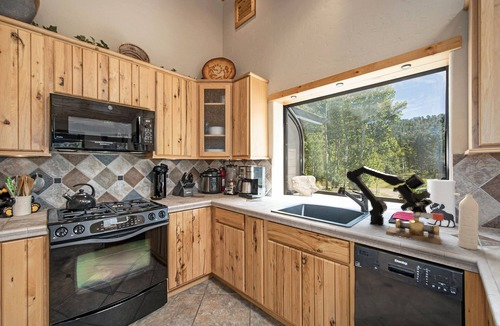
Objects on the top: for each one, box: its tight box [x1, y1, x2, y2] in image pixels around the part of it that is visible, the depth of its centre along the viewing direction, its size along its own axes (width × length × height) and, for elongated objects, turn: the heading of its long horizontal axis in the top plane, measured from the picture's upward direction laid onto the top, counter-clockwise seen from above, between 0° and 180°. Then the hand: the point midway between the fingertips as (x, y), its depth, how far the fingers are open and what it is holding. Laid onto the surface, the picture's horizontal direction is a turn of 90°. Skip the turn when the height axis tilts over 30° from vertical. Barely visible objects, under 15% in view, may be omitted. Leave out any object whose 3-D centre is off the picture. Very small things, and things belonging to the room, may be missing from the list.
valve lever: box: [412, 211, 444, 222], centre depth 110 cm, size 12×3×3 cm, turn 57°
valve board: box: [385, 225, 442, 245], centre depth 114 cm, size 22×11×2 cm, turn 51°
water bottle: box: [452, 192, 480, 251], centre depth 100 cm, size 9×6×25 cm
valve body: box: [394, 217, 440, 238], centre depth 113 cm, size 18×6×9 cm, turn 51°
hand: (428, 219), depth 111 cm, fingers closed
